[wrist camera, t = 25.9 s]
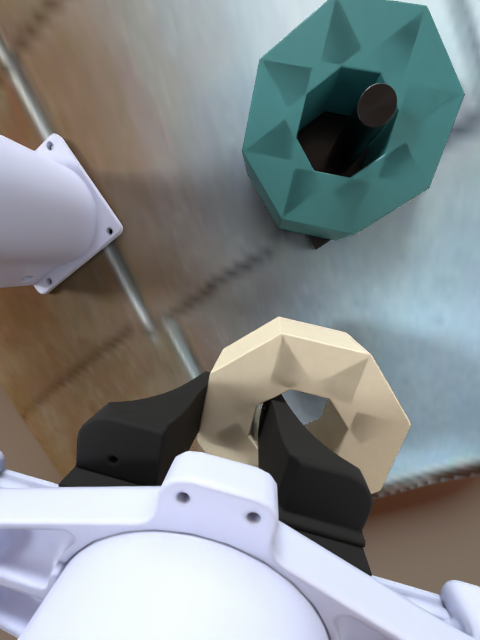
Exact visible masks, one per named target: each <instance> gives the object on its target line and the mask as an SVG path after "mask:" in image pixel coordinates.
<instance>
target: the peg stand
mask: <svg viewBox="0 0 480 640" xmlns="http://www.w3.org/2000/svg"><path fill="white" fill-rule="evenodd" d="M396 108H397V95H396V92H395V90H394V89H393V88H392V87H391V86H390V85H388V84H385V83H377V84H374V85H372V86H370V87H369V88H367V89H366V90H365V91H364V92H363V94H362V95H361V97H360V98H359V100H358V102H357V104H356V106H355V107H354V109H353V111H352V113H351V115H350V116H348V115H343V114H337V113H332V112H326V111H325V112H323V113H322V114H321V115H320V116H318V117H317V118H316V119H314V120H313V121H312V122H310V123H309V124H308V125H306V126H305V127H304V128H302V129H301V130H300V131H298V135H297V140H298V142H299V144H300V145H301V147H302V149H303V151H304V153H305V155H306V157H307V158H308V160H309V162H310V164H311V166H312V168H313V170H314V171H317V172H323V173H328V174H333V175H338V176H343V177H348V178H350V177H352V176H353V175H355V174H356V173H358V172H359V171H361V170H362V168H363V164H364V161H365V158H366V155H367V151H368V148H369V144H370V143H371V142H372V141H373V139H374V138H375V137H376V136H377V135H378V134H379V132H380V131H381V130H382V129H383V128H384V126H385V125H386V124H387V123H388V122H389V121H390V119H391V118H392V117H393V115H394V113H395V111H396ZM304 235H305V237H306V239H307V241H308V242H309V244H310V246H311V248H312V249H313V250H315V249H317V248H319V247H321V246H322V245H324V244H325V243H327V242H328V241H330V240H331V239H326V238H321V237H317V236H312V235H307V234H304Z"/></svg>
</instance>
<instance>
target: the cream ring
mask: <svg viewBox="0 0 480 640" xmlns="http://www.w3.org/2000/svg"><path fill="white" fill-rule="evenodd" d="M290 389H292V390H296V391H300V392H304V393H308V394H312V395H316V396H320V397H324V398H328V400H327V403H326V406H325V409H324V411H323V414H322V417H321V418H319V419H317V420H315V421H312V422H310V423H308V424H306V425H304V426H305V427H306V428H307V429H308V430H309V432H310V433H311V434H313V435H314V436H315V437H316V438H317V439H318V440H319V441H320V442H322V443H323V444H324V445H325V446H326V447H328V448H329V449H330V450H332V451H333V452H334V453H336V454H337V455H339V456H340V457H341V458H343V459H345V460H346V461H348V462H350V463H351V464H353V465H354V466H356V467H358V468H359V469H360V471H361V472H362V474H363V476H364V478H365V481H366V483H367V485H368V488H369V490H370V492H371V494H372V493H375V492H378V491H380V490H381V488H382V486H383V484H384V482H385V480H386V478H387V475H388V473H389V471H390V469H391V467H392V465H393V463H394V460H395V458H396V456H397V454H398V452H399V450H400V448H401V445H402V443H403V441H404V439H405V437H406V435H407V433H408V430H409V428H410V426H411V424H410V421H409V419H408V417H407V416H406V414H405V412H404V410H403V409H402V407H401V405H400V403H399V402H398V400H397V398H396V397H395V395H394V393H393V391H392V390H391V388H390V386H389V384H388V383H387V381H386V379H385V377H384V376H383V374H382V372H381V370H380V369H379V367H378V365H377V363H376V362H375V360H374V358H373V356H372V355H371V354H370V353H369V352H368V351H367V350H366V349H364V348H363V347H362V346H361V345H360V344H359V343H358V342H356V341H355V340H354V339H353V338H352V337H351V336H350V335H349V334H347V333H346V332H342V331H338V330H334V329H330V328H325V327H321V326H317V325H313V324H308V323H304V322H300V321H295V320H291V319H287V318H283V317H277V318H275V319H274V320H272V321H270V322H268V323H267V324H265V325H263V326H262V327H260V328H258V329H257V330H255V331H253V332H251V333H250V334H248V335H246V336H245V337H243V338H241V339H239V340H238V341H236V342H234V343H233V344H231V345H229V346H227V347H226V348H224V349H223V350H222V352H221V354H220V356H219V358H218V360H217V362H216V364H215V366H214V367H213V369H212V371H211V373H210V376H209V381H208V386H207V392H206V397H205V402H204V407H203V412H202V417H201V422H200V427H199V432H198V437H197V442H198V443H199V444H200V446H201V447H202V448H203V450H204V451H205V452H206V454H210V455H214V456H217V457H221V458H225V459H228V460H232V461H236V462H239V463H243V464H247V465H250V466H254V467H258V427H259V418H260V414H261V411H260V409H259V408H258V405H260V404H262V403H264V402H266V401H268V400H270V399H272V398H274V397H276V396H278V395H280V394H282V393H284V392H286V391H288V390H290ZM258 468H259V467H258Z"/></svg>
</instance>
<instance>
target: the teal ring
mask: <svg viewBox="0 0 480 640" xmlns="http://www.w3.org/2000/svg"><path fill="white" fill-rule="evenodd" d="M377 83H385V84H388V85H390V86H391V87H392V88H393V89H394V90H395V92H396V95H397V108H396V111H395V113H394V115H393V117H392V118H391V119H390V121H389V122H388V123H387V124H386V125H385V126H384V128H383V129H382V130H381V131H380V132H379V134H378V135H377V136H376V137H375V138H374V139H373V141H372V142H371V143H370V144H369V148H368V151H367V155H366V158H365V161H364V164H363V168H362V170H361V171H359V172H358V173H356V174H355V175H353V176H352V177H350V178H348V177H343V176H338V175H333V174H328V173H323V172H317V171H314V170H313V168H312V166H311V164H310V162H309V160H308V158H307V157H306V155H305V153H304V151H303V149H302V147H301V145H300V144H299V142H298V140H297V135H298V131H300V130H301V129H302V128H304V127H305V126H306V125H308V124H309V123H310V122H312V121H313V120H314V119H316V118H317V117H318V116H320V115H321V114H322V113H323V112H325V111H326V112H332V113H337V114H343V115H348V116H350V115H351V113H352V111H353V109H354V107H355V106H356V104H357V102H358V100H359V98H360V97H361V95H362V94H363V92H364V91H365V90H366V89H367V88H369V87H370V86H372V85H374V84H377ZM464 95H465V94H464V91H463V89H462V87H461V84H460V82H459V79H458V77H457V75H456V72H455V70H454V68H453V65H452V63H451V61H450V58H449V56H448V54H447V51H446V49H445V47H444V44H443V42H442V40H441V37H440V35H439V33H438V30H437V28H436V26H435V23H434V21H433V19H432V16H431V14H430V11H429V9H428V7H427V6H425V5H419V4H412V3H405V2H399V1H392V0H327V1H326V2H325V3H323V4H322V5H321V6H320V7H319V8H318V9H317V10H315V11H314V12H313V13H312V14H311V15H310V16H309V17H307V18H306V19H305V20H304V21H303V22H302V23H301V24H299V25H298V26H297V27H296V28H295V29H294V30H292V31H291V32H290V33H289V34H288V35H287V36H286V37H284V38H283V39H282V40H281V41H280V42H279V43H278V44H276V45H275V46H274V47H273V48H272V49H271V50H270V51H268V52H267V53H266V54H265V55H264V56H263V57H262V58H261V59H260V60H259V65H258V70H257V76H256V81H255V86H254V91H253V97H252V102H251V107H250V112H249V118H248V123H247V128H246V133H245V139H244V144H243V149H242V153H243V157H244V161H245V166H246V170H247V174H248V177H249V178H250V180H251V182H252V184H253V185H254V187H255V189H256V190H257V192H258V194H259V196H260V197H261V199H262V201H263V203H264V204H265V206H266V208H267V209H268V211H269V213H270V215H271V216H272V218H273V220H274V221H275V223H276V225H277V227H278V228H279V229H284V230H289V231H293V232H298V233H303V234H307V235H312V236H317V237H321V238H326V239H331V240H335V241H336V240H339V239H342V238H345V237H348V236H351V235H354V234H356V233H358V232H359V231H361V230H362V229H364V228H366V227H367V226H369V225H371V224H372V223H374V222H375V221H377V220H379V219H380V218H382V217H383V216H385V215H387V214H388V213H390V212H392V211H393V210H395V209H396V208H398V207H400V206H401V205H403V204H404V203H406V202H408V201H409V200H411V199H413V198H414V197H416V196H417V195H419V194H421V193H422V192H424V191H425V190H427V189H428V188H429V187H430V185H431V182H432V179H433V177H434V174H435V171H436V169H437V166H438V163H439V161H440V158H441V156H442V153H443V150H444V148H445V145H446V142H447V140H448V137H449V134H450V132H451V129H452V127H453V124H454V121H455V119H456V116H457V113H458V111H459V108H460V105H461V103H462V100H463V98H464Z"/></svg>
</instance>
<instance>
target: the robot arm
mask: <svg viewBox="0 0 480 640" xmlns="http://www.w3.org/2000/svg"><path fill="white" fill-rule="evenodd" d="M52 145H53V149H51V147H52ZM110 229H112V231H113V233H112V235H111V234H110ZM122 232H123V226H122V224H121V223H120V221H119V220H118V218H117V217H116V215H115V214H114V212H113V211H112V210H111V208H110V207H109V205H108V204H107V202H106V201H105V199H104V198H103V196H102V195H101V194H100V192H99V191H98V189H97V188H96V186H95V185H94V183H93V182H92V180H91V179H90V177H89V176H88V175H87V173H86V172H85V170H84V169H83V167H82V166H81V164H80V163H79V161H78V160H77V158H76V157H75V156H74V154H73V153H72V151H71V150H70V148H69V147H68V145H67V144H66V142H65V141H64V140H63V138H62V137H60V136H59V135H57V134H51V135H50V136H49V137H48V138H47V139H46V140H45V141H44V142H43V143H42V144H41V145H40V146H39V147H38V148H37V149H36V150H35V151H33V150H31V149H29V148H27V147H25V146H23V145H20V144H18V143H16V142H14V141H12V140H10V139H8V138H6V137H4V136H2V135H0V288H5V287H17V286H28V285H33V286H34V287H35V288H36V290H37V291H38V292H39V293H41V294H47V293H49V292H50V291H51V290H53V289H54V288H55V287H56V286H57V285H59V284H60V283H61V282H62V281H64V280H65V279H66V278H67V277H69V276H70V275H71V274H72V273H74V272H75V271H76V270H77V269H78V268H80V267H81V266H82V265H83V264H85V263H86V262H87V261H88V260H90V259H91V258H92V257H93V256H94V255H96V254H97V253H98V252H99V251H101V250H102V249H103V248H104V247H106V246H107V245H108V244H109V243H110V242H112V241H113V240H114V239H115V238H117V237H118V236H119V235H120V234H121V233H122ZM50 279H51V281H52V283H51V282H50ZM209 376H210V372H204V373H202V374H201V375H199V376H198V377H196V378H195V379H193V380H191V381H190V382H188V383H186V384H184V385H182V386H180V387H178V388H176V389H174V390H172V391H169V392H167V393H164V394H161V395H157V396H153V397H150V398H145V399H140V400H134V401H125V402H110V403H108V404H107V405H105V406H104V407H103V408H102V409H100V410H99V411H98V412H97V413H96V414H95V415H94V416H93V417H91V418H90V419H89V420H88V421H87V422H86V423H85V424H84V425H82V427H81V429H80V430H79V433H78V438H77V457H76V466H75V468H74V469H73V470H72V471H71V472H70V473H69V474H68V475H67V476H66V477H65V478H64V479H63V480H62V481H61V482H60V483H59V484H55V483H52V482H48V481H44V480H42V479H38V478H35V477H31V476H28V475H24V474H21V473H17V472H14V471H10V470H7V469H4V468H5V457H4V454H3V453H2V452H1V451H0V628H1V629H3V630H4V631H6V632H8V633H10V634H11V635H13V636H15V637H17V638H18V640H480V587H479V586H476V585H472V584H469V583H465V582H462V581H458V580H451V581H447V582H446V583H445V584H444V585H443V587H442V590H441V592H440V595H438V594H435V593H431V592H428V591H425V590H421V589H418V588H414V587H411V586H407V585H404V584H400V583H397V582H393V581H390V580H387V579H383V578H380V577H376V576H373V575H372V574H371V571H370V568H369V565H368V562H367V559H366V556H365V553H364V550H363V547H365V539H364V537H363V534H362V529H363V527H364V525H365V523H366V521H367V519H368V516H369V514H370V512H371V509H372V505H373V500H372V495H371V492H370V490H369V488H368V485H367V483H366V481H365V478H364V476H363V474H362V472H361V471H360V469H359V468H358V467H356V466H354V465H353V464H351V463H350V462H348V461H346V460H345V459H343V458H341V457H340V456H339V455H337V454H336V453H334V452H333V451H332V450H330V449H329V448H328V447H326V446H325V445H324V444H323V443H322V442H320V441H319V440H318V439H317V438H316V437H315V436H314V435H313V434H311V433H310V432H309V430H308V429H307V428H306V427H305V426H304V425H303V424H302V423H301V422H300V421H299V419H298V418H297V417H296V416H295V414H294V413H293V412H292V410H291V409H290V407H289V406H288V404H287V403H286V401H285V400H284V398H283V397H282V395H281V394H280V395H278V396H276V397H274V398H272V399H270V400H268V401H266V402H264V403H263V406H262V410H261V414H260V418H259V427H258V467H259V468H258V467H254V466H250V465H247V464H243V463H239V462H236V461H232V460H228V459H225V458H221V457H217V456H214V455H210V454H206V453H202V452H193V451H189V449H190V447H191V445H192V443H193V441H194V439H195V437H196V435H197V433H198V431H199V427H200V422H201V417H202V412H203V407H204V402H205V397H206V392H207V386H208V381H209Z"/></svg>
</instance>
